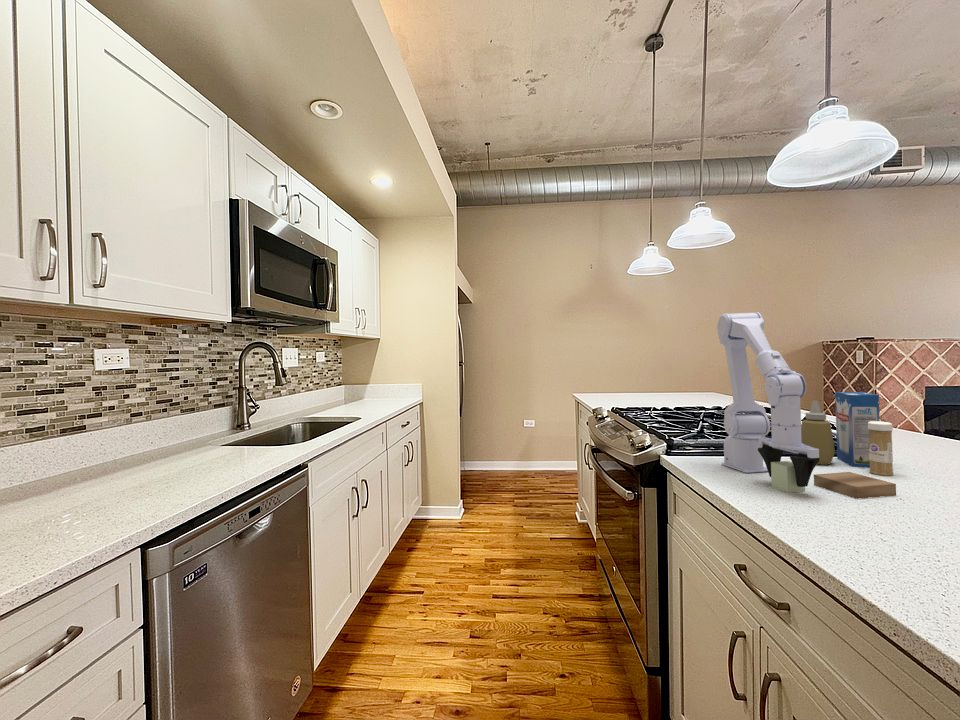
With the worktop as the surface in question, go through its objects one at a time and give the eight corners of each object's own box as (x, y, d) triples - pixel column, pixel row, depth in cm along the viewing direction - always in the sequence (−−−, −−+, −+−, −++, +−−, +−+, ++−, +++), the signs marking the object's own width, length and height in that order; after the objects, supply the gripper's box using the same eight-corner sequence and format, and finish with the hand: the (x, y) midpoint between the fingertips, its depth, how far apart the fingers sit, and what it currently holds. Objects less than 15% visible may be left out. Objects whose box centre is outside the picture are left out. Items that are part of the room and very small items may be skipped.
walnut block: (814, 486, 99) (813, 474, 99) (850, 484, 100) (849, 471, 100) (857, 500, 89) (856, 487, 89) (896, 497, 90) (895, 483, 90)
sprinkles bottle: (865, 472, 107) (864, 421, 107) (874, 470, 109) (873, 420, 109) (888, 477, 103) (886, 424, 103) (897, 474, 105) (896, 422, 105)
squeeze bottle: (793, 459, 123) (791, 399, 123) (822, 459, 122) (820, 399, 122) (811, 466, 115) (809, 402, 115) (843, 466, 114) (840, 402, 114)
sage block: (771, 486, 99) (770, 462, 99) (788, 485, 100) (787, 460, 100) (787, 492, 95) (787, 466, 95) (805, 491, 95) (804, 465, 95)
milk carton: (881, 468, 111) (878, 394, 111) (852, 466, 113) (849, 394, 113) (863, 459, 120) (861, 391, 120) (837, 458, 122) (834, 391, 122)
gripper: (747, 420, 104) (748, 474, 104) (798, 430, 89) (800, 492, 89) (772, 419, 105) (773, 472, 105) (826, 428, 90) (828, 489, 90)
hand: (787, 481), depth 97 cm, fingers open, 7 cm apart
